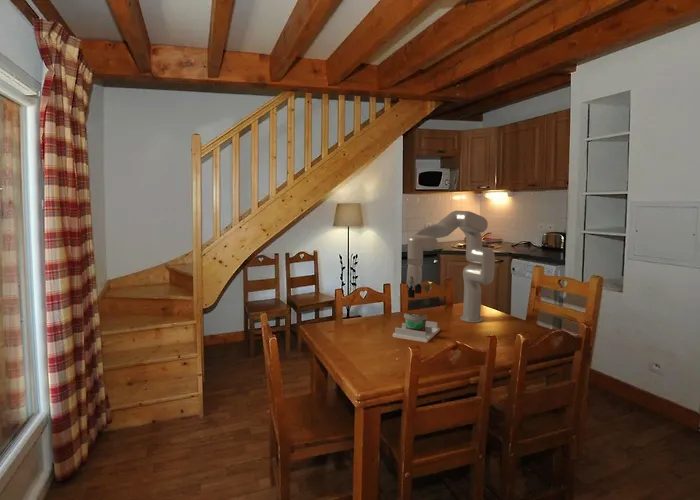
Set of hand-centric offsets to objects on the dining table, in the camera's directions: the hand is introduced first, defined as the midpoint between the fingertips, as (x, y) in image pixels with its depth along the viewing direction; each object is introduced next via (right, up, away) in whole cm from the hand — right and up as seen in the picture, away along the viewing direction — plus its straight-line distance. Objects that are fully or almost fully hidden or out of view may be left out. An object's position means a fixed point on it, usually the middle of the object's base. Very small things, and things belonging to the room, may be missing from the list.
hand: (414, 295), depth 226 cm
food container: (0, -20, +2) cm, 20 cm away
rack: (+2, -21, +7) cm, 22 cm away
